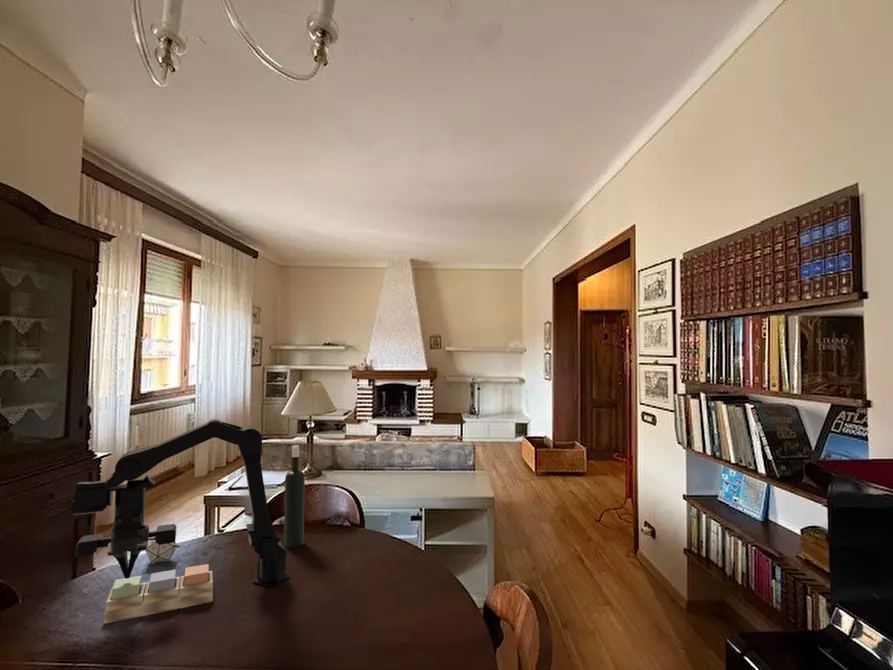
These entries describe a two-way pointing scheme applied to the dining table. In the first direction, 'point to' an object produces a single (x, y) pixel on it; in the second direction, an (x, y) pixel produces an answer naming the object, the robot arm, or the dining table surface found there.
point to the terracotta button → (196, 575)
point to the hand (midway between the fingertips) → (127, 577)
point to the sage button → (126, 587)
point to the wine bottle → (294, 503)
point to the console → (158, 600)
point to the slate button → (162, 581)
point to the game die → (160, 551)
